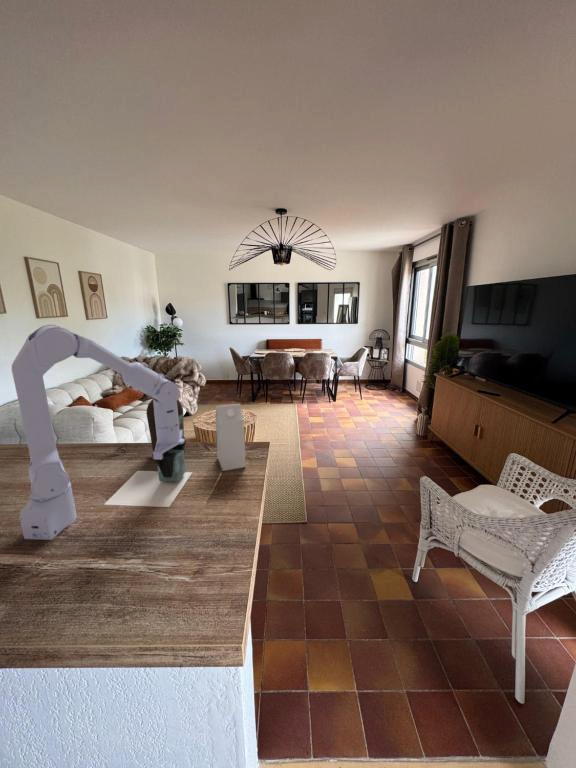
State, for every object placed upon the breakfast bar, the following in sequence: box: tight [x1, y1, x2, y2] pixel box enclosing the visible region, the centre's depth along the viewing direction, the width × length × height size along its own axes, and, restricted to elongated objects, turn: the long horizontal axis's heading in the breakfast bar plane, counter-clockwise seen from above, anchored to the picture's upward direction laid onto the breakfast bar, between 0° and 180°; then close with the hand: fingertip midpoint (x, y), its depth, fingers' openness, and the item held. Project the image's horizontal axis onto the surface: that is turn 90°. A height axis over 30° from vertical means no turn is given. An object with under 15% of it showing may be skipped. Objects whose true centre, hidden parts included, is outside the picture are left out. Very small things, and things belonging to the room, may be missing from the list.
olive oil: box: [145, 398, 186, 456], centre depth 101 cm, size 11×11×25 cm
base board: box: [103, 470, 193, 508], centre depth 85 cm, size 16×16×1 cm
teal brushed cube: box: [156, 450, 187, 482], centre depth 88 cm, size 5×5×7 cm
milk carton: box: [214, 403, 246, 472], centre depth 97 cm, size 7×7×19 cm
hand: (172, 471), depth 88 cm, fingers closed on teal brushed cube, 5 cm apart
